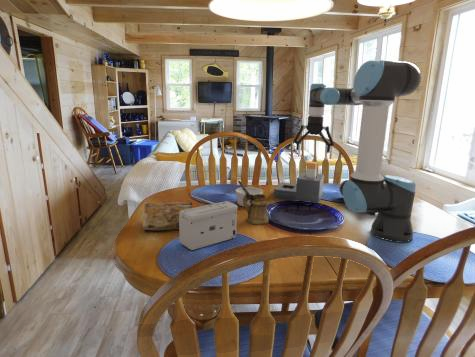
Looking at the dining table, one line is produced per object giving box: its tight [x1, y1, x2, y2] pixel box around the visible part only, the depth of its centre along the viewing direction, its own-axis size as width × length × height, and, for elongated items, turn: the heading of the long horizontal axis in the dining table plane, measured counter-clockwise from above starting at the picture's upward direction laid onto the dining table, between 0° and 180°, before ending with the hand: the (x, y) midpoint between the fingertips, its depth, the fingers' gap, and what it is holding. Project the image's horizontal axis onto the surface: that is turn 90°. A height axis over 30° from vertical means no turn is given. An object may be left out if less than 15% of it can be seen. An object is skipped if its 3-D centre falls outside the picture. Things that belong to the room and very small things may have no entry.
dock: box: [273, 171, 325, 203], centre depth 175 cm, size 16×23×12 cm
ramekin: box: [235, 186, 264, 208], centre depth 163 cm, size 13×13×7 cm
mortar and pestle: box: [237, 180, 269, 226], centre depth 139 cm, size 9×14×18 cm, turn 93°
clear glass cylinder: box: [305, 160, 318, 178], centre depth 171 cm, size 4×4×10 cm
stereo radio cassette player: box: [178, 194, 238, 251], centre depth 118 cm, size 21×8×20 cm, turn 127°
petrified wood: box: [142, 201, 194, 231], centre depth 132 cm, size 19×13×10 cm
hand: (312, 157), depth 170 cm, fingers open, 13 cm apart
